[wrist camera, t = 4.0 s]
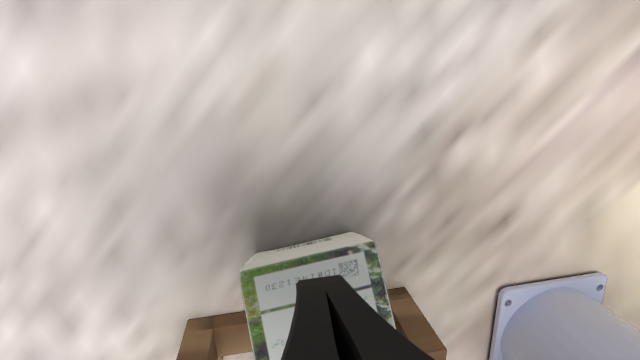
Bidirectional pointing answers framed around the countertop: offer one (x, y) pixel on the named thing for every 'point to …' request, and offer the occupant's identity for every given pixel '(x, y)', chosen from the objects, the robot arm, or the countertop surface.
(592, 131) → the countertop surface
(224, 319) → the rest
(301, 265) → the syrup box
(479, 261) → the countertop surface
